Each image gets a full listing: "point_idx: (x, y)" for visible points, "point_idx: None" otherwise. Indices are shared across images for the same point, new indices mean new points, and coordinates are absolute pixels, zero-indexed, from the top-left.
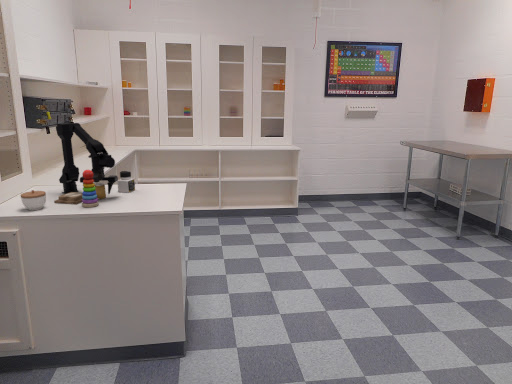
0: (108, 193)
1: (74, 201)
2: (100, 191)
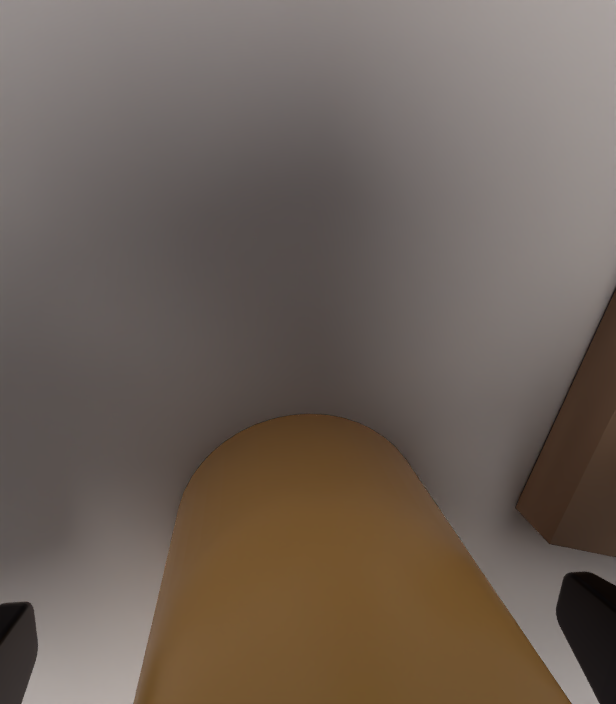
0: (8, 620)
1: None
2: (276, 589)
